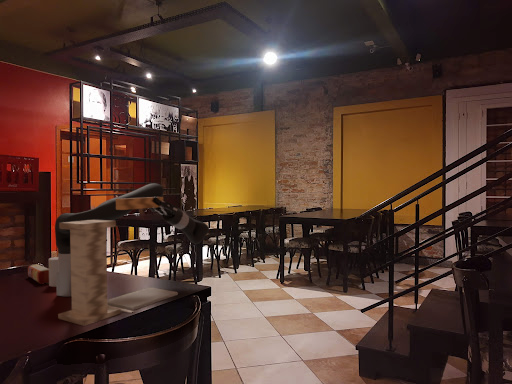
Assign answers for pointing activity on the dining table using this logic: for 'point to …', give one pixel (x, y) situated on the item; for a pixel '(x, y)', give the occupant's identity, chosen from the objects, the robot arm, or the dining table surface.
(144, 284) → the dining table surface
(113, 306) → the line
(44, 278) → the snack package
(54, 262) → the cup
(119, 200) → the bar
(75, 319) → the stand
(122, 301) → the mat
